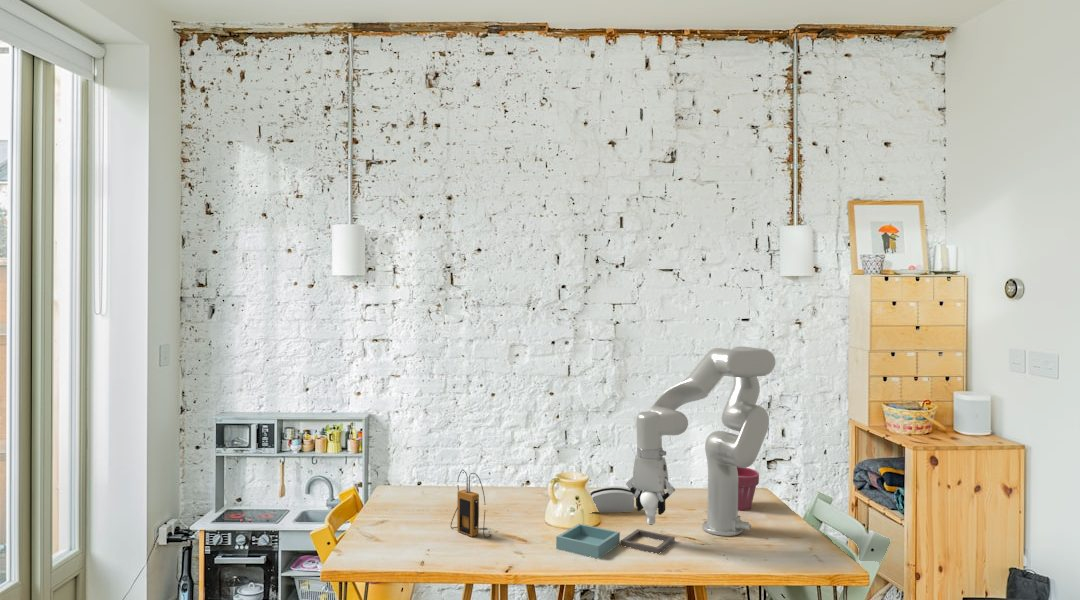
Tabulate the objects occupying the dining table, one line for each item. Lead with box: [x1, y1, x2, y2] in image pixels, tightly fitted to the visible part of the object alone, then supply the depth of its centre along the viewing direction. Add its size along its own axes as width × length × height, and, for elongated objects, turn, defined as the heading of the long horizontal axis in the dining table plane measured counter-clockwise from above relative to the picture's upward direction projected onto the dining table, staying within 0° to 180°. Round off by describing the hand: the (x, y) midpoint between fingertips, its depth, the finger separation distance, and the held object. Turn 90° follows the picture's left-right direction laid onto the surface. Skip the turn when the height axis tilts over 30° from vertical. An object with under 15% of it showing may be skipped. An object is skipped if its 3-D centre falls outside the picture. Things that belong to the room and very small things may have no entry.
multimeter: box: [450, 469, 492, 538], centre depth 225 cm, size 15×10×20 cm
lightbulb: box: [640, 490, 659, 526], centre depth 215 cm, size 6×6×11 cm
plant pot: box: [737, 467, 760, 511], centre depth 253 cm, size 14×14×13 cm
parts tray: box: [555, 523, 621, 559], centre depth 212 cm, size 14×14×4 cm
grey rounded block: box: [589, 485, 635, 513], centre depth 246 cm, size 17×5×10 cm, turn 98°
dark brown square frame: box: [619, 528, 676, 555], centre depth 215 cm, size 12×12×2 cm
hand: (650, 511), depth 215 cm, fingers closed on lightbulb, 6 cm apart
